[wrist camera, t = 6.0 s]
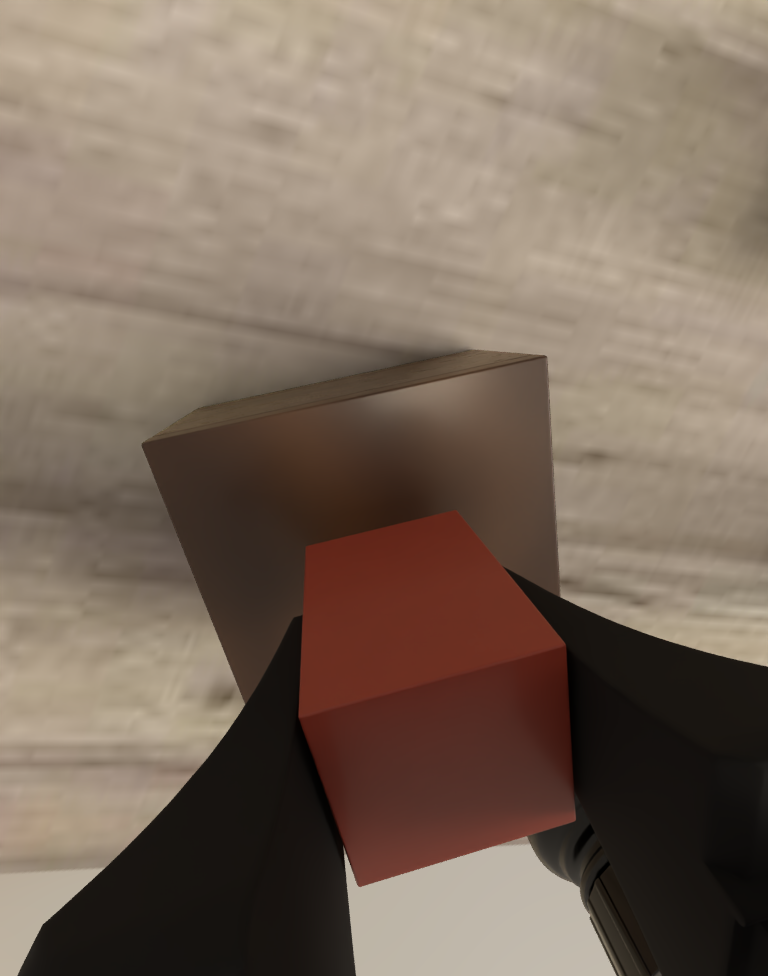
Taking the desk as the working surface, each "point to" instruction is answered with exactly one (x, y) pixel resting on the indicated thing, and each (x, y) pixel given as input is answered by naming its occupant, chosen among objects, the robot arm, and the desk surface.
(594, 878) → the ink bottle
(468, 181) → the desk surface
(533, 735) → the block
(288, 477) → the brown open wooden box
